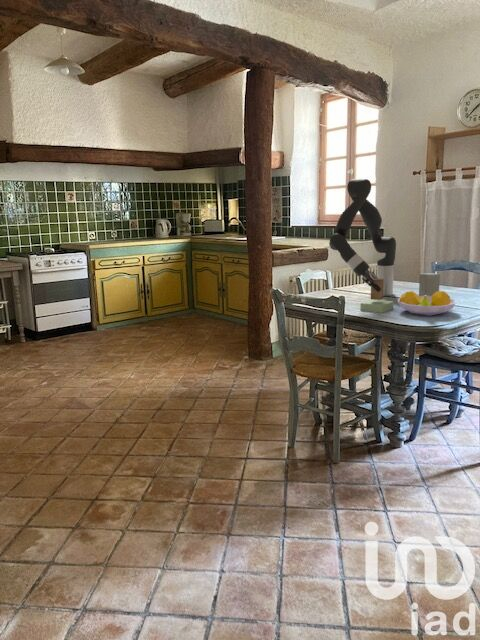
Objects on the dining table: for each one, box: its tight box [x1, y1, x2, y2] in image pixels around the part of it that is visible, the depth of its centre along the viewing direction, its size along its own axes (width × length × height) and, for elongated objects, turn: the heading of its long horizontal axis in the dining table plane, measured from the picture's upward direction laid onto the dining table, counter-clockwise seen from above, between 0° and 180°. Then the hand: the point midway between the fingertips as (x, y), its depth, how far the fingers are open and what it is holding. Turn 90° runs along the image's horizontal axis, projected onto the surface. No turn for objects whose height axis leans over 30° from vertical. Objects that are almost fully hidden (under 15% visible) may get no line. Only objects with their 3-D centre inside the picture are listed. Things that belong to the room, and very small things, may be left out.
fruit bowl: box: [397, 290, 456, 317], centre depth 247 cm, size 28×27×11 cm
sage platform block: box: [359, 298, 394, 313], centre depth 260 cm, size 12×12×4 cm
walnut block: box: [370, 278, 384, 300], centre depth 258 cm, size 5×5×10 cm
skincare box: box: [418, 272, 441, 296], centre depth 269 cm, size 8×7×16 cm
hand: (380, 289), depth 257 cm, fingers closed on walnut block, 5 cm apart
